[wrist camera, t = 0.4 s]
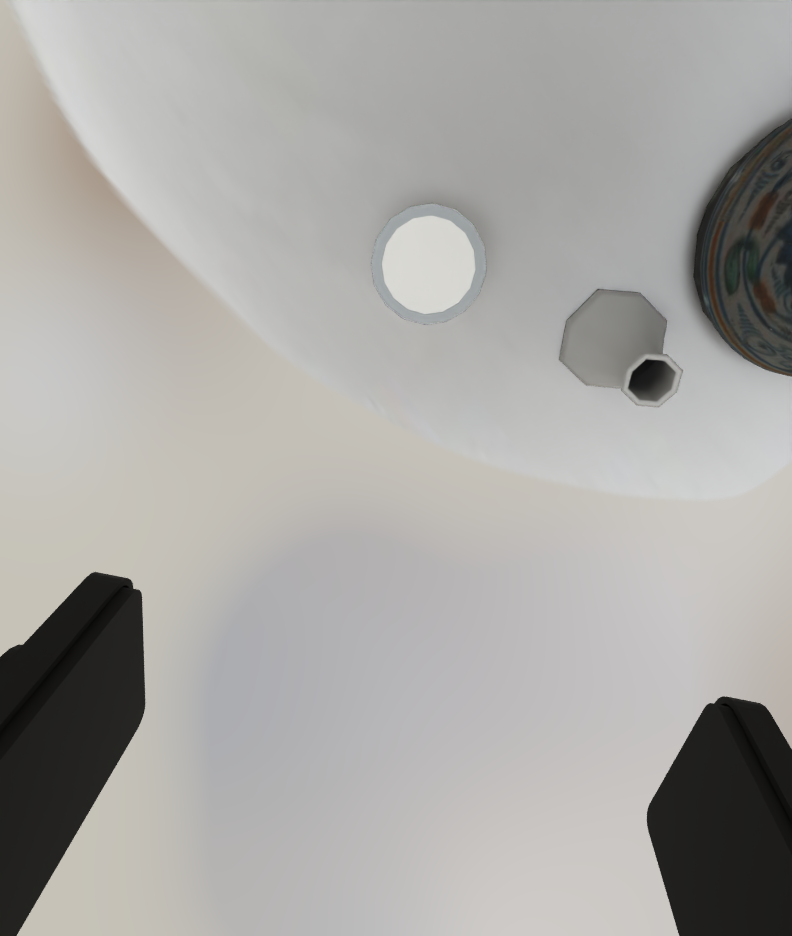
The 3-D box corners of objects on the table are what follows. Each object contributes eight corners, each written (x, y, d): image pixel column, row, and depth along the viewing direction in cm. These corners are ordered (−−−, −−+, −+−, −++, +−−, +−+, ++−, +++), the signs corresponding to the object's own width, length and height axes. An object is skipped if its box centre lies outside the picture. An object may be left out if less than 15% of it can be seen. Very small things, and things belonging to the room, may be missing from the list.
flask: (684, 313, 41) (748, 348, 32) (628, 402, 44) (671, 458, 35) (592, 271, 41) (631, 295, 32) (541, 364, 44) (563, 411, 35)
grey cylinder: (438, 176, 39) (434, 175, 33) (502, 258, 41) (510, 272, 35) (363, 250, 41) (346, 261, 35) (427, 324, 43) (422, 347, 37)
